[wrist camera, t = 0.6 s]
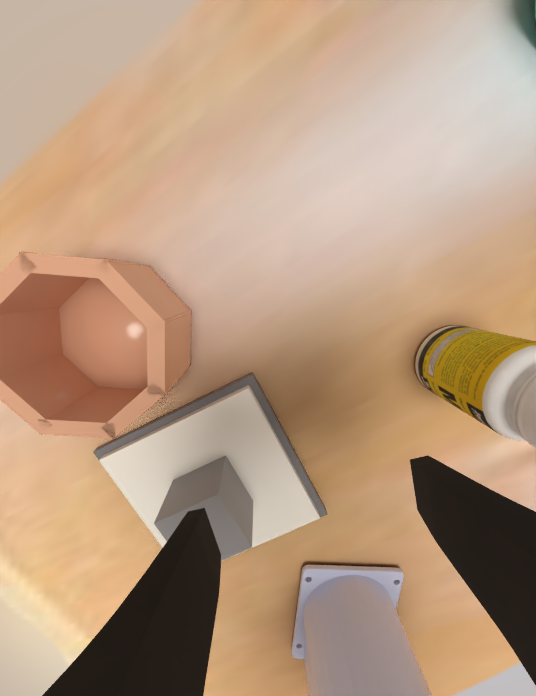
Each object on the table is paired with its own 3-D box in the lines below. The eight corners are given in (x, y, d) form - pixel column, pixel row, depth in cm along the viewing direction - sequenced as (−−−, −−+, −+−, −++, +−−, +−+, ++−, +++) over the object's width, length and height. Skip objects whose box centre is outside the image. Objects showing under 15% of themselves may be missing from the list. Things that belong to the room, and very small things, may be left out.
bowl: (190, 400, 19) (165, 441, 14) (59, 392, 18) (-14, 432, 13) (192, 269, 17) (165, 263, 12) (47, 257, 16) (-43, 246, 12)
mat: (325, 508, 21) (327, 514, 20) (185, 570, 22) (184, 576, 21) (252, 372, 18) (252, 374, 18) (97, 447, 19) (93, 452, 19)
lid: (318, 511, 20) (332, 567, 16) (186, 569, 21) (169, 635, 17) (248, 384, 18) (245, 413, 14) (103, 454, 19) (61, 500, 15)
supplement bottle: (400, 379, 19) (509, 453, 11) (433, 313, 18) (580, 339, 10) (462, 402, 19) (611, 489, 11) (497, 339, 18) (688, 383, 10)
